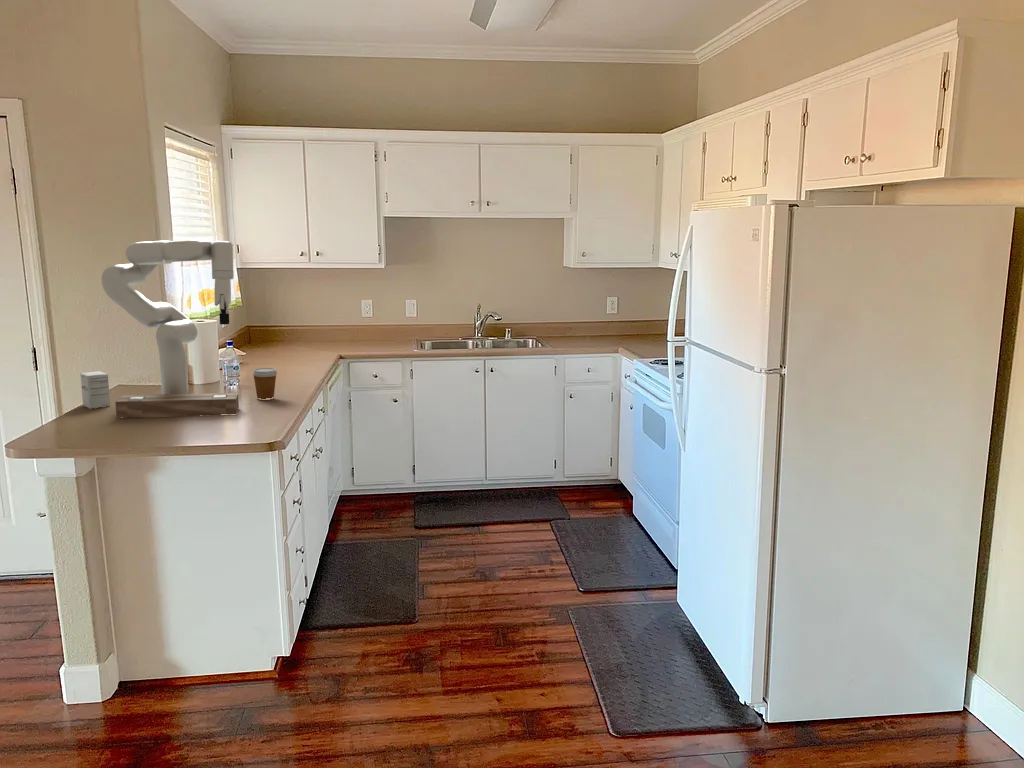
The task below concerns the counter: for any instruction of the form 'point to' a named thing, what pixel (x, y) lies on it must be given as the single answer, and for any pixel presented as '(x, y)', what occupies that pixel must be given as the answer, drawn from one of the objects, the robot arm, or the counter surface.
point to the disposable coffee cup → (265, 382)
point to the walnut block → (176, 405)
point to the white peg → (219, 396)
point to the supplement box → (95, 389)
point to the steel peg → (136, 398)
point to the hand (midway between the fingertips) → (224, 324)
